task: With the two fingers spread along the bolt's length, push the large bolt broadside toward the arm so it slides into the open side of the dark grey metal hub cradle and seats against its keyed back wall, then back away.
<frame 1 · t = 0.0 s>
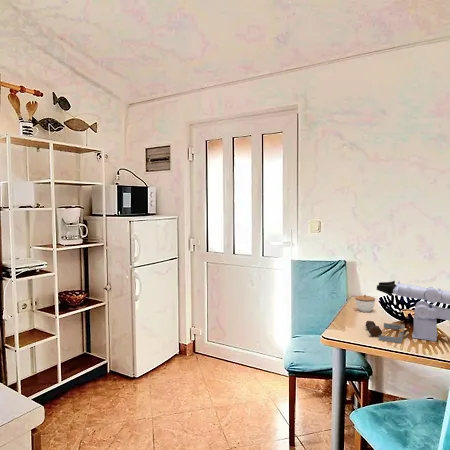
hand: (377, 285, 173), 22 cm above the table, tool horizontal, fingers open, 7 cm apart
hub cradle: (390, 334, 168), on the table
bolt: (372, 332, 172), on the table
lidded jar: (365, 311, 209), on the table
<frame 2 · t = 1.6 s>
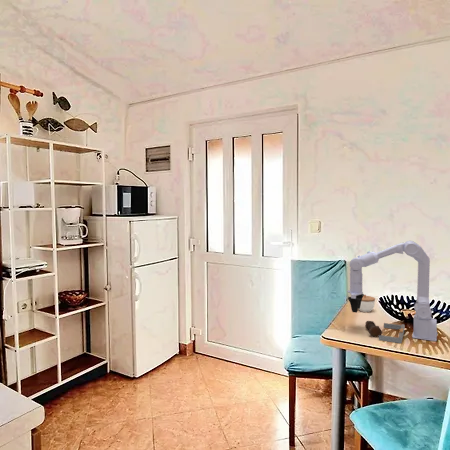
hand: (356, 310, 175), 9 cm above the table, tool pointing down, fingers open, 7 cm apart
nothing on the table moved.
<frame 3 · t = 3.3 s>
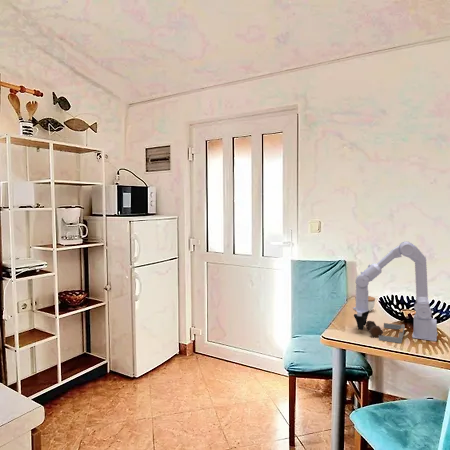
hand: (361, 327, 174), 1 cm above the table, tool pointing down, fingers open, 7 cm apart
bolt: (372, 333, 171), on the table, touching gripper
everything else where it was.
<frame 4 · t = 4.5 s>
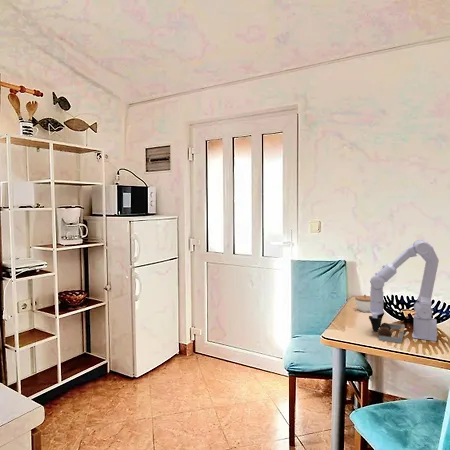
hand: (376, 329, 171), 1 cm above the table, tool pointing down, fingers open, 7 cm apart
bolt: (385, 335, 168), on the table, touching gripper
everything else where it was.
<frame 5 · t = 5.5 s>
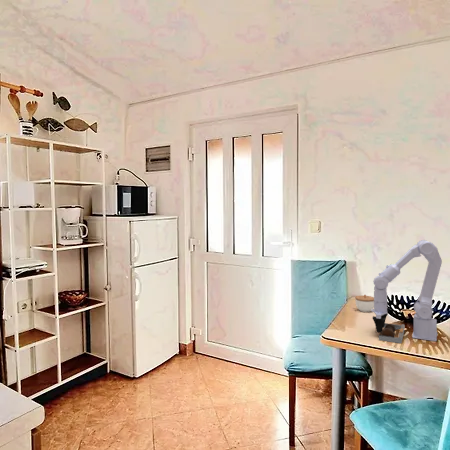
hand: (380, 329, 170), 1 cm above the table, tool pointing down, fingers open, 7 cm apart
bolt: (389, 335, 167), on the table
everything else where it was.
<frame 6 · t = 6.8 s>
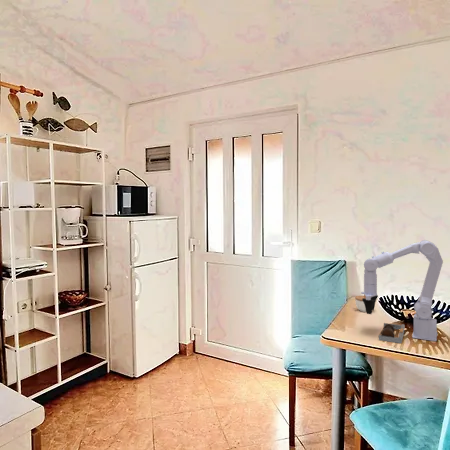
hand: (370, 311, 172), 9 cm above the table, tool pointing down, fingers open, 7 cm apart
nothing on the table moved.
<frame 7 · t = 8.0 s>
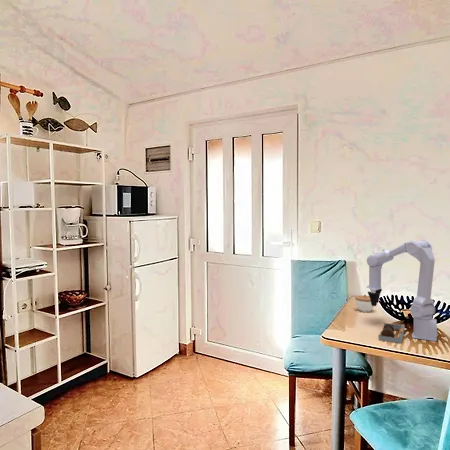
hand: (374, 304, 187), 9 cm above the table, tool pointing down, fingers open, 7 cm apart
nothing on the table moved.
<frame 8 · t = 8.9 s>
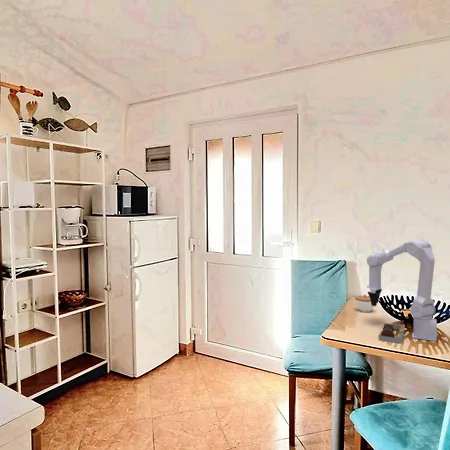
hand: (374, 304, 187), 9 cm above the table, tool pointing down, fingers open, 7 cm apart
nothing on the table moved.
at the end: bolt inside the target area (1.8 cm from its centre), on the table; bolt moved 7.4 cm from its start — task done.
